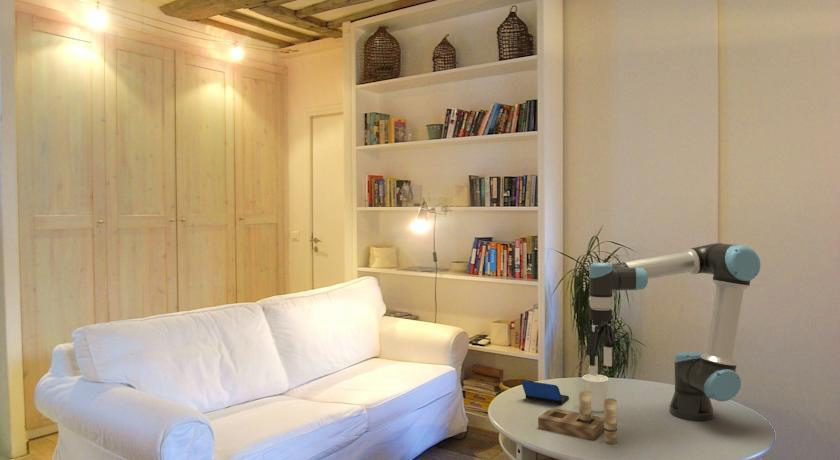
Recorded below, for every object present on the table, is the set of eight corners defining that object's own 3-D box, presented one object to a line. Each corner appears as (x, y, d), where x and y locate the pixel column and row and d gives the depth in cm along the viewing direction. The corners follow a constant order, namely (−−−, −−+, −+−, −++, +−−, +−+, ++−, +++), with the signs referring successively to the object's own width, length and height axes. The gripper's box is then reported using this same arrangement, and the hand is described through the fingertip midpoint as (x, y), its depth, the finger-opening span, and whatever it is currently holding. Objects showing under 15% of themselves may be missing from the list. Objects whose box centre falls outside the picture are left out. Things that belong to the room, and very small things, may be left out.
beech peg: (618, 440, 202) (618, 399, 201) (614, 445, 198) (614, 403, 198) (606, 438, 204) (606, 397, 203) (602, 442, 201) (602, 401, 200)
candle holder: (605, 404, 238) (605, 374, 237) (611, 412, 228) (611, 381, 228) (580, 403, 239) (580, 373, 238) (584, 412, 229) (584, 381, 228)
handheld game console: (570, 399, 245) (570, 377, 245) (558, 409, 234) (558, 385, 233) (534, 393, 254) (533, 371, 253) (520, 402, 243) (520, 379, 242)
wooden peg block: (605, 429, 212) (605, 389, 211) (593, 440, 202) (593, 399, 202) (551, 418, 224) (551, 380, 223) (538, 428, 214) (537, 389, 213)
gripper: (603, 302, 217) (603, 360, 218) (575, 312, 197) (575, 377, 198) (624, 304, 212) (623, 363, 213) (598, 315, 192) (597, 380, 193)
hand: (600, 370), depth 205 cm, fingers open, 13 cm apart
